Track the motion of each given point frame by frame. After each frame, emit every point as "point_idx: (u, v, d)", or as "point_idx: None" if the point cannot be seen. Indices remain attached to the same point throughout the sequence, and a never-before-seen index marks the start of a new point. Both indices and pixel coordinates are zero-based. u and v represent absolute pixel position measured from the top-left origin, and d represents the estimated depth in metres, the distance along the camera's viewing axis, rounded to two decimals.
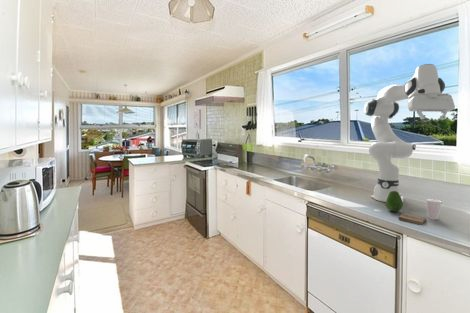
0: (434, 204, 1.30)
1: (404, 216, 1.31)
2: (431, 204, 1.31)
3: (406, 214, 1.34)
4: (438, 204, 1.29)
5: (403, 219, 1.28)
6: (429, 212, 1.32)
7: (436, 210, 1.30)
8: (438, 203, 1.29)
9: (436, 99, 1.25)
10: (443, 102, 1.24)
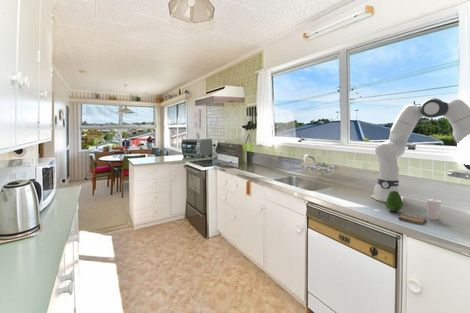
0: (434, 204, 1.30)
1: (404, 216, 1.31)
2: (431, 204, 1.31)
3: (406, 214, 1.34)
4: (438, 204, 1.29)
5: (403, 219, 1.28)
6: (429, 212, 1.32)
7: (436, 210, 1.30)
8: (438, 203, 1.29)
9: None
10: None
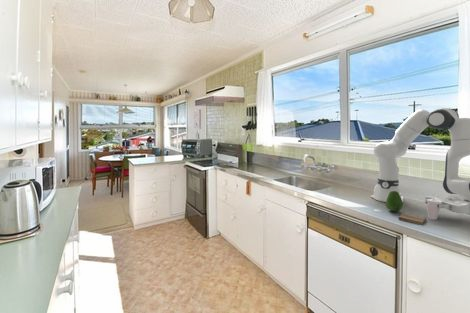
0: (434, 204, 1.29)
1: (404, 216, 1.31)
2: (431, 204, 1.30)
3: (406, 214, 1.34)
4: None
5: (403, 219, 1.28)
6: (429, 212, 1.32)
7: (436, 210, 1.30)
8: (438, 203, 1.29)
9: None
10: None
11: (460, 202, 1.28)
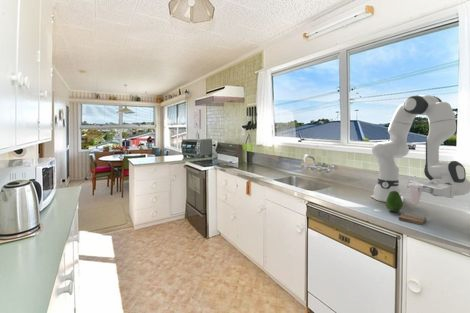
0: (415, 188, 1.26)
1: (404, 216, 1.31)
2: (412, 188, 1.27)
3: (406, 214, 1.34)
4: None
5: (403, 219, 1.28)
6: (411, 196, 1.28)
7: (418, 194, 1.26)
8: (419, 187, 1.25)
9: None
10: None
11: (441, 185, 1.24)
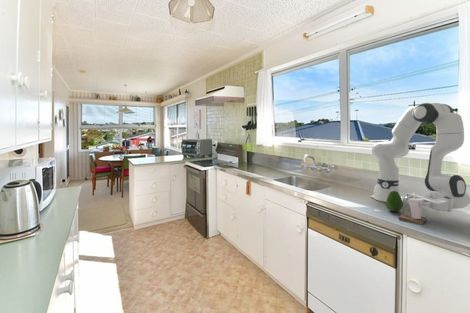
0: (416, 202, 1.25)
1: (404, 216, 1.31)
2: (413, 202, 1.26)
3: (406, 214, 1.34)
4: None
5: (403, 219, 1.28)
6: (412, 211, 1.27)
7: (419, 208, 1.25)
8: (419, 201, 1.25)
9: None
10: None
11: (440, 199, 1.25)
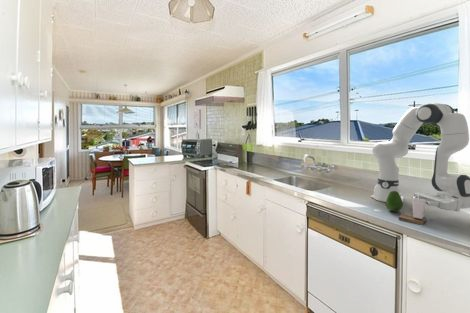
0: (419, 201, 1.26)
1: (404, 216, 1.31)
2: (416, 201, 1.27)
3: (406, 214, 1.34)
4: (423, 202, 1.25)
5: (403, 219, 1.28)
6: (414, 210, 1.27)
7: (421, 208, 1.25)
8: (423, 200, 1.25)
9: None
10: None
11: (448, 199, 1.25)
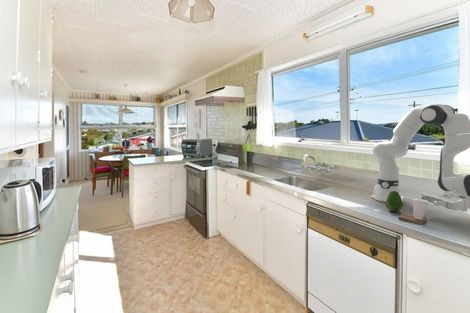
0: (420, 203, 1.24)
1: (404, 216, 1.31)
2: (417, 203, 1.25)
3: (406, 214, 1.34)
4: (424, 204, 1.24)
5: (403, 219, 1.28)
6: (415, 212, 1.27)
7: (422, 210, 1.24)
8: (424, 202, 1.23)
9: None
10: None
11: (455, 199, 1.25)
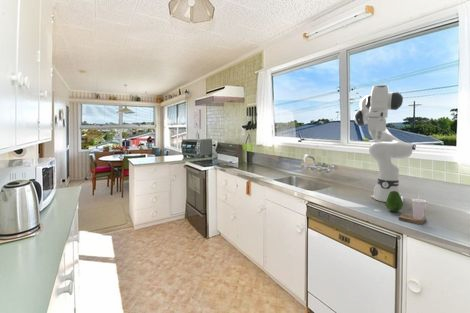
0: (419, 204, 1.24)
1: (404, 216, 1.31)
2: (416, 204, 1.25)
3: (406, 214, 1.34)
4: (423, 204, 1.24)
5: (403, 219, 1.28)
6: (414, 212, 1.27)
7: (421, 210, 1.24)
8: (423, 203, 1.23)
9: (381, 121, 1.40)
10: (383, 124, 1.43)
11: None
